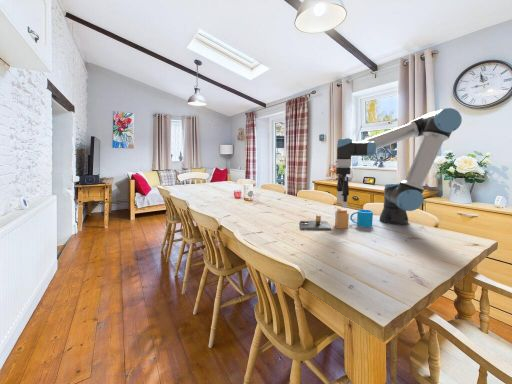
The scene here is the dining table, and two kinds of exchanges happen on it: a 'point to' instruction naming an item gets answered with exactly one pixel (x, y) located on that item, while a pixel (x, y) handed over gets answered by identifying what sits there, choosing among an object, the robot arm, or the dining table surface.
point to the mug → (363, 218)
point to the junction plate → (315, 224)
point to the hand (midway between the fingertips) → (341, 204)
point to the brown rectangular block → (341, 218)
